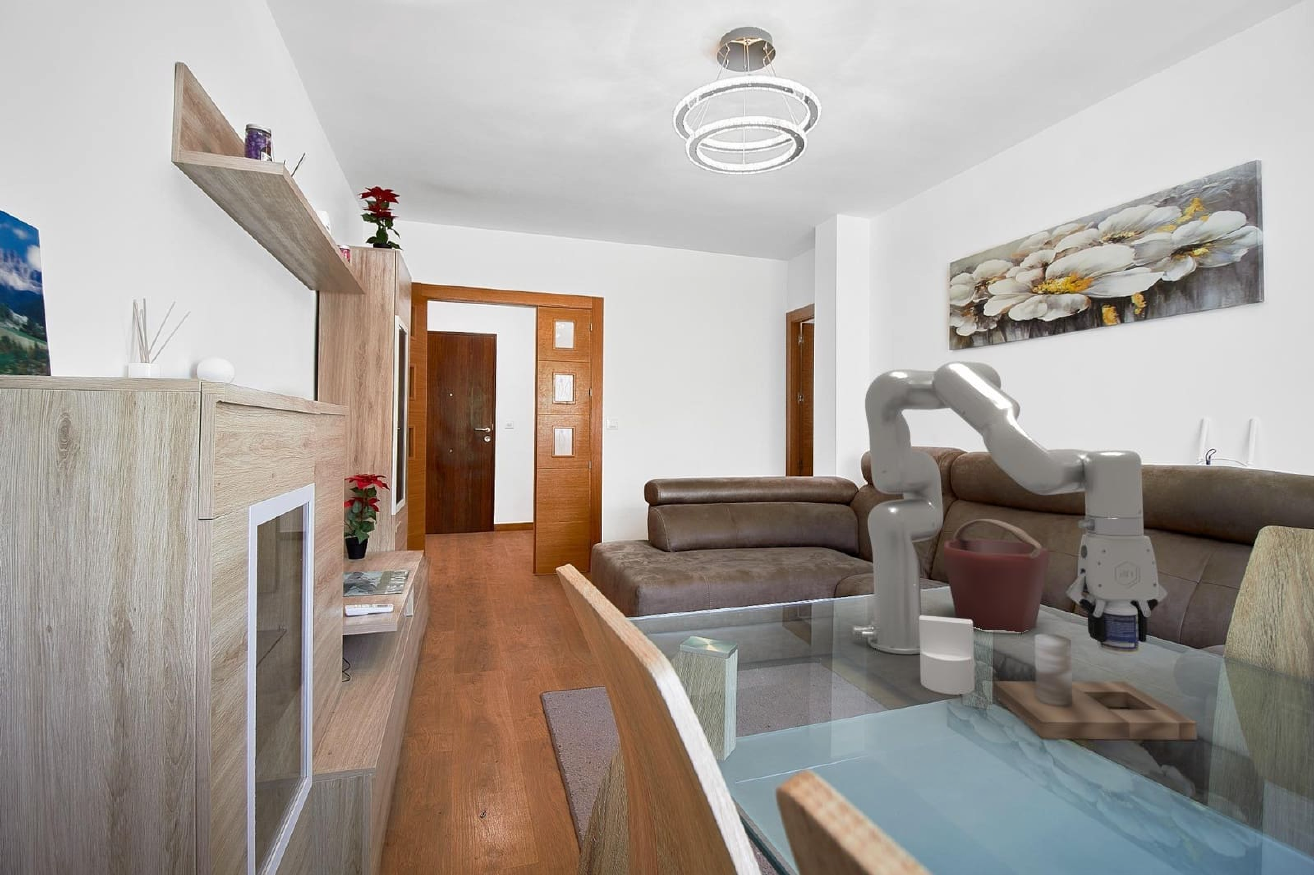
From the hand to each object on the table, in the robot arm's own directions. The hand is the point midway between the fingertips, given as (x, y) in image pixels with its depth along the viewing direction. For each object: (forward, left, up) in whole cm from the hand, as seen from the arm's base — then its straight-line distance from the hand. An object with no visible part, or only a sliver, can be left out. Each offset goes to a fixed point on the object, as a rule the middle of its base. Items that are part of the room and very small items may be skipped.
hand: (1117, 638), depth 102 cm
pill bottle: (0, 0, -2) cm, 2 cm away
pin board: (-5, 0, -12) cm, 13 cm away
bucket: (+3, +51, -13) cm, 53 cm away
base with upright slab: (-22, +13, -13) cm, 29 cm away
